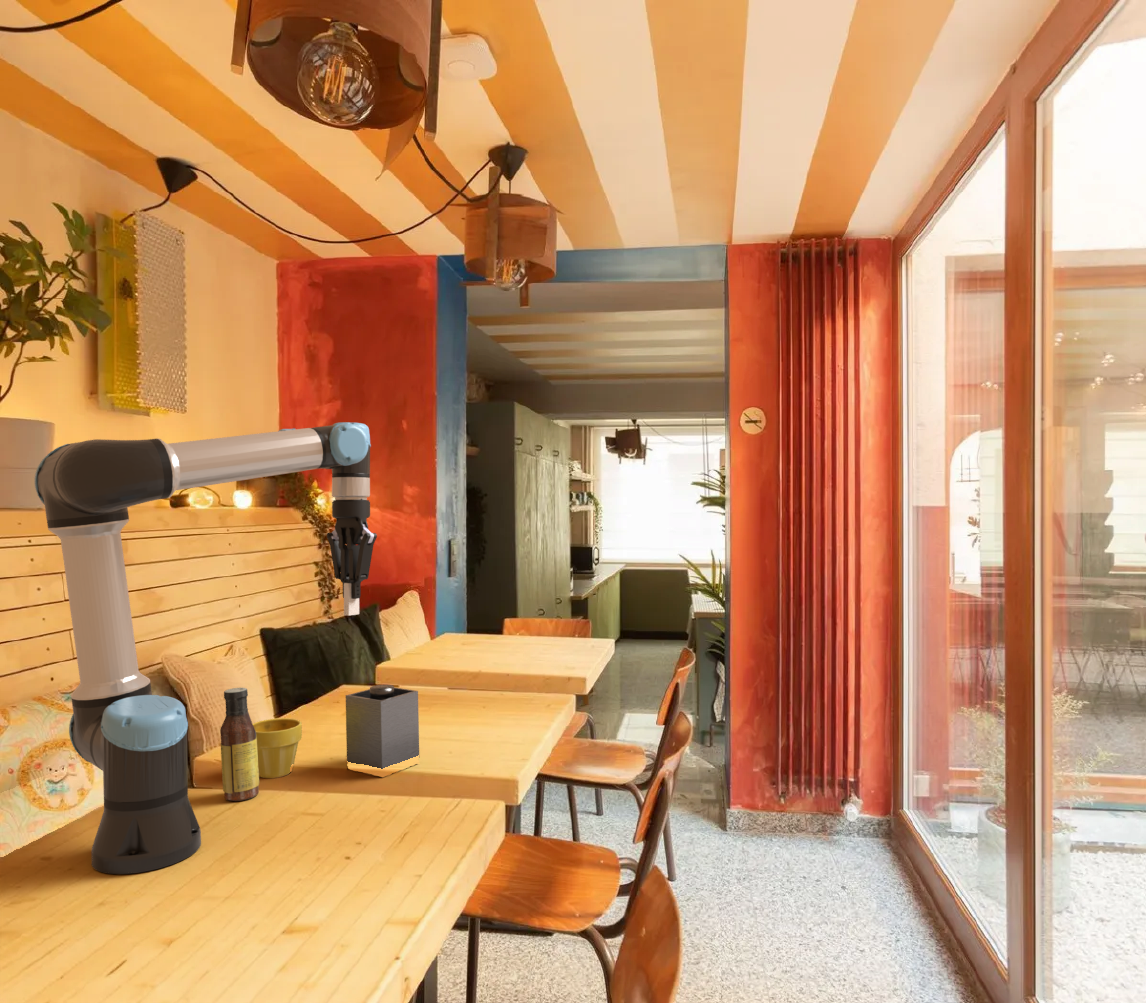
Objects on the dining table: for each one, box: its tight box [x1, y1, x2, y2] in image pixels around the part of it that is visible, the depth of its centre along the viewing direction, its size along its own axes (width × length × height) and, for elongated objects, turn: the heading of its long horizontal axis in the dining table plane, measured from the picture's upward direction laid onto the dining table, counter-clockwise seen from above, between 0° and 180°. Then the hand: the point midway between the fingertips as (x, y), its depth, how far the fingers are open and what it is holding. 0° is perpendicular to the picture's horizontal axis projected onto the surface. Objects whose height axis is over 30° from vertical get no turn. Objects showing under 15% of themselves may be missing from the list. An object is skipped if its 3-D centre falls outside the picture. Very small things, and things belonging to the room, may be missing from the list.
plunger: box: [369, 684, 395, 700], centre depth 170 cm, size 8×8×13 cm
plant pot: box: [252, 717, 303, 779], centre depth 167 cm, size 10×10×10 cm
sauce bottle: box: [219, 687, 260, 802], centre depth 154 cm, size 7×6×20 cm
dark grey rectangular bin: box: [345, 686, 420, 769], centre depth 171 cm, size 14×10×15 cm
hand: (351, 614), depth 170 cm, fingers closed
